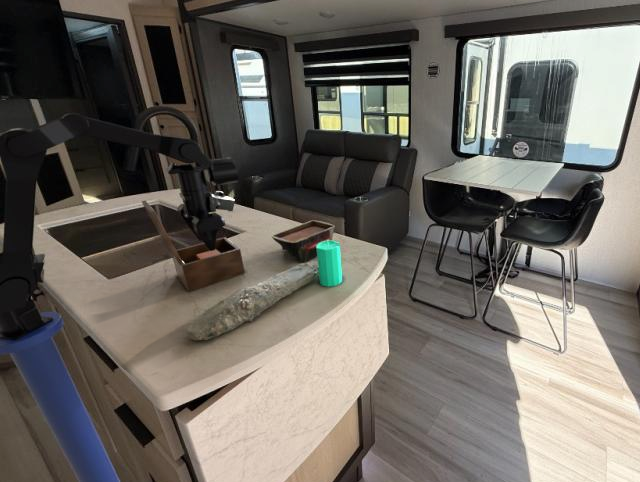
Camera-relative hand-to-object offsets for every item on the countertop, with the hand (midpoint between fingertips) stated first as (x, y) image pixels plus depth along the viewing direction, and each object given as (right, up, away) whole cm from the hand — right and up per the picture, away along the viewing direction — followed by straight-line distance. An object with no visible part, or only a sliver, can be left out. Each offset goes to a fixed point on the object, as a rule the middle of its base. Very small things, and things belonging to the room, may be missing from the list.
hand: (207, 245), depth 85 cm
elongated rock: (+20, -13, -9) cm, 25 cm away
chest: (0, -8, +3) cm, 9 cm away
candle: (+34, -10, 0) cm, 35 cm away
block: (0, -7, +3) cm, 8 cm away
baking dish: (+22, -3, +16) cm, 28 cm away
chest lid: (-6, +4, -8) cm, 10 cm away
